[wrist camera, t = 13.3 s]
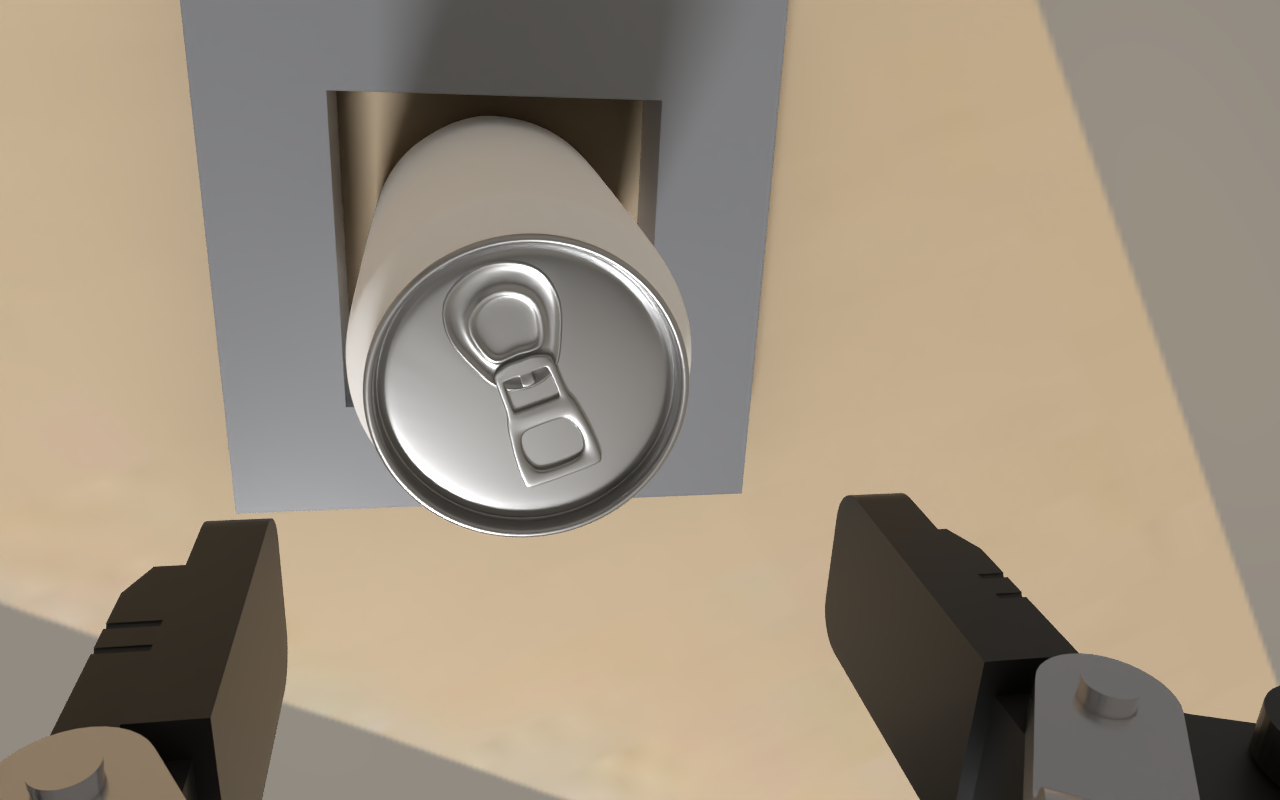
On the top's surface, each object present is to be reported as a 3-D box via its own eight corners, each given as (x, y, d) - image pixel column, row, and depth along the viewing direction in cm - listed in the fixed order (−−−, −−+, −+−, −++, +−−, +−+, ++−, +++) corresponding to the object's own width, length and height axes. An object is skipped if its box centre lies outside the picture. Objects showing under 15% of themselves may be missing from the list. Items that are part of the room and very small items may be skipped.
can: (566, 78, 28) (652, 152, 17) (639, 299, 30) (754, 485, 19) (334, 160, 27) (267, 288, 16) (428, 375, 30) (424, 608, 19)
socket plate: (250, 472, 30) (235, 513, 28) (197, -55, 25) (173, -58, 23) (720, 456, 33) (741, 493, 30) (761, -25, 27) (790, -24, 25)
